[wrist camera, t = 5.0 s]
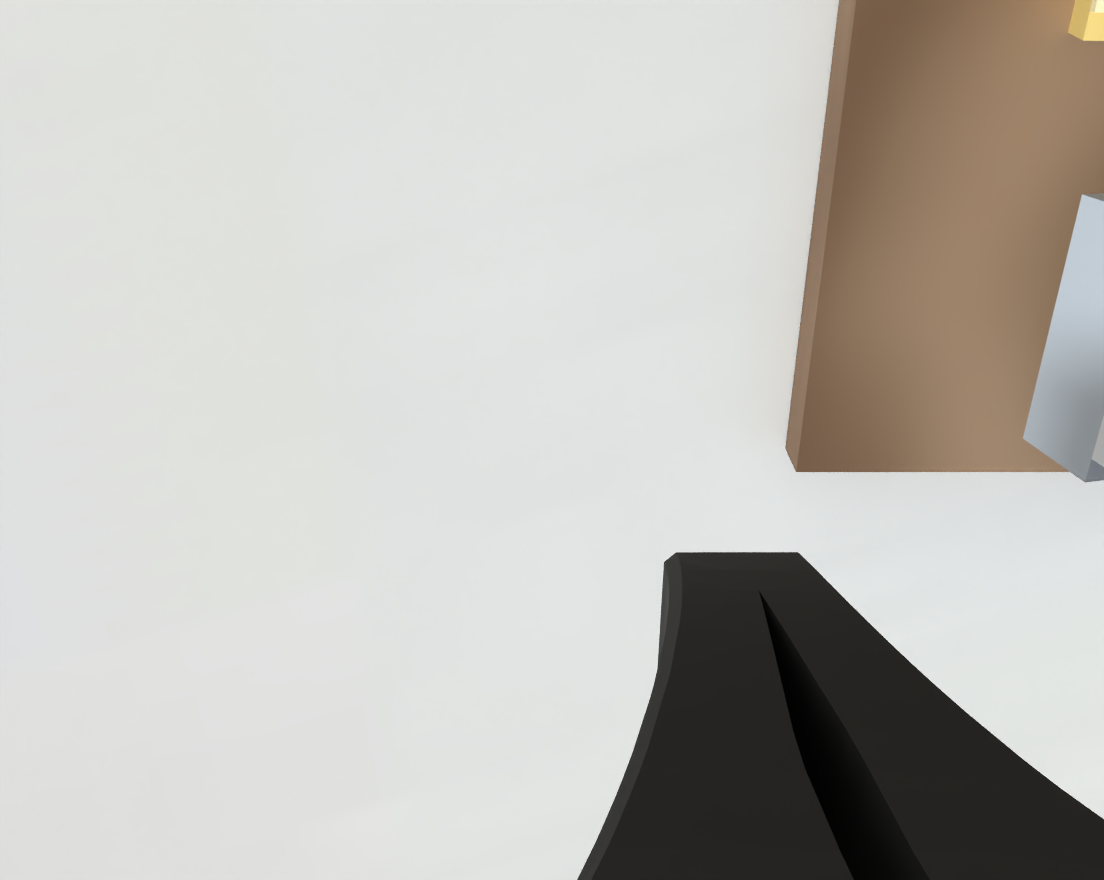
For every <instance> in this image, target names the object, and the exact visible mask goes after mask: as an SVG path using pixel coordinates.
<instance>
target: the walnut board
mask: <svg viewBox="0 0 1104 880" xmlns="http://www.w3.org/2000/svg"><path fill="white" fill-rule="evenodd" d="M1074 4H1075V0H839V7H838V15H837V24H836V32H835V40H834V49H833V57H832V65H831V74H830V82H829V90H828V99H827V107H826V115H825V123H824V132H823V140H822V148H821V157H820V165H819V173H818V182H817V190H816V198H815V207H814V215H813V223H812V232H811V240H810V248H809V257H808V265H807V273H806V281H805V290H804V298H803V306H802V315H801V323H800V331H799V340H798V348H797V356H796V365H795V373H794V381H793V390H792V398H791V406H790V415H789V423H788V431H787V439H786V448H785V449H786V451H787V453H788V455H789V457H790V460H791V462H792V464H793V466H794V468H795V470H796V472H1070V471H1068V470H1067V469H1065V468H1064V467H1063V466H1061V465H1060V464H1058V463H1057V462H1055V461H1054V460H1053V459H1051V458H1050V457H1048V456H1047V455H1046V454H1044V453H1043V452H1041V451H1040V450H1038V449H1037V448H1036V447H1034V446H1033V445H1031V444H1030V443H1028V442H1027V441H1026V440H1024V439H1023V436H1024V432H1025V427H1026V423H1027V419H1028V415H1029V411H1030V407H1031V403H1032V399H1033V394H1034V390H1035V386H1036V382H1037V378H1038V374H1039V370H1040V366H1041V361H1042V357H1043V353H1044V349H1045V345H1046V341H1047V337H1048V333H1049V329H1050V324H1051V320H1052V316H1053V312H1054V308H1055V304H1056V300H1057V296H1058V291H1059V287H1060V283H1061V279H1062V275H1063V271H1064V267H1065V263H1066V258H1067V254H1068V250H1069V246H1070V242H1071V238H1072V234H1073V230H1074V225H1075V221H1076V217H1077V213H1078V209H1079V205H1080V201H1081V197H1082V194H1097V193H1104V41H1083V40H1081V39H1079V38H1077V37H1075V36H1073V35H1072V34H1070V33H1068V31H1069V26H1070V22H1071V17H1072V13H1073V8H1074Z"/></svg>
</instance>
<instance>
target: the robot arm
mask: <svg viewBox="0 0 1104 880" xmlns="http://www.w3.org/2000/svg"><path fill="white" fill-rule="evenodd" d="M577 880H1104V819H1102V818H1101V817H1100V816H1098V815H1097V814H1095V813H1094V812H1093V811H1091V810H1090V809H1089V808H1087V807H1086V806H1084V805H1083V804H1082V803H1080V802H1079V801H1077V800H1076V799H1075V798H1073V797H1072V796H1070V795H1069V794H1068V793H1066V792H1065V791H1063V790H1062V789H1061V788H1059V787H1058V786H1057V785H1055V784H1054V783H1053V782H1051V781H1050V780H1049V779H1048V778H1046V777H1045V776H1044V775H1042V774H1041V773H1040V772H1038V771H1037V770H1036V769H1035V768H1033V767H1032V766H1031V765H1029V764H1028V763H1027V762H1026V761H1024V760H1023V759H1022V758H1021V757H1019V756H1018V755H1017V754H1016V753H1014V752H1013V751H1012V750H1011V749H1010V748H1008V747H1007V746H1006V745H1005V744H1004V743H1002V742H1001V741H1000V740H999V739H998V738H996V737H995V736H994V735H993V734H991V733H990V732H989V731H988V730H987V729H985V728H984V727H983V726H982V725H981V724H979V723H978V722H977V721H976V720H975V719H973V718H972V717H971V716H970V715H969V714H967V713H966V712H965V711H964V710H963V709H962V708H960V707H959V706H958V705H957V704H956V703H955V702H954V701H952V700H951V699H950V698H949V697H948V696H947V695H946V694H944V693H943V692H942V691H941V690H940V689H939V688H938V687H937V686H935V685H934V684H933V683H932V682H931V681H930V680H929V679H928V678H927V677H925V676H924V675H923V674H922V673H921V672H920V671H919V670H918V669H917V668H916V667H915V666H914V665H912V664H911V663H910V662H909V661H908V660H907V659H906V658H905V657H904V656H903V655H902V654H901V653H900V652H899V651H897V650H896V649H895V648H894V647H893V646H892V645H891V644H890V643H889V642H888V641H887V640H886V639H885V638H884V637H883V636H882V635H881V634H880V633H879V632H878V631H877V630H876V629H875V628H874V627H873V626H872V625H871V624H870V623H868V622H867V621H866V620H865V619H864V618H863V617H862V616H861V615H860V614H859V613H858V612H857V611H856V610H855V609H854V608H853V607H852V606H851V605H850V604H849V603H848V602H847V601H846V600H845V599H844V598H843V597H842V596H841V595H840V594H839V593H838V592H837V591H836V590H835V589H834V588H833V587H832V586H831V585H830V584H829V583H828V582H827V581H826V580H825V579H824V578H823V576H822V575H821V574H820V573H819V572H818V571H817V570H816V569H815V568H814V567H813V566H812V565H811V564H810V563H809V562H807V561H806V560H805V559H804V558H803V557H802V556H801V555H800V554H799V553H798V552H699V553H675V554H674V555H672V556H671V557H670V558H669V559H668V560H666V561H665V562H664V572H663V589H662V605H661V622H660V638H659V655H658V669H657V674H656V678H655V683H654V686H653V690H652V694H651V697H650V700H649V703H648V707H647V710H646V713H645V716H644V719H643V722H642V725H641V728H640V731H639V735H638V738H637V741H636V744H635V747H634V750H633V753H632V756H631V758H630V761H629V764H628V766H627V769H626V772H625V774H624V777H623V780H622V782H621V785H620V787H619V790H618V792H617V795H616V797H615V799H614V802H613V804H612V806H611V809H610V811H609V813H608V816H607V818H606V820H605V823H604V825H603V827H602V830H601V832H600V834H599V836H598V838H597V841H596V843H595V845H594V847H593V849H592V851H591V853H590V855H589V857H588V859H587V861H586V863H585V865H584V867H583V869H582V871H581V873H580V875H579V877H578V879H577Z"/></svg>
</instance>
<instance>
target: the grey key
mask: <svg viewBox="0 0 1104 880" xmlns="http://www.w3.org/2000/svg"><path fill="white" fill-rule="evenodd" d="M1023 439H1024V440H1026V441H1027V442H1028V443H1030V444H1031V445H1033V446H1034V447H1036V448H1037V449H1038V450H1040V451H1041V452H1043V453H1044V454H1046V455H1047V456H1048V457H1050V458H1051V459H1053V460H1054V461H1055V462H1057V463H1058V464H1060V465H1061V466H1063V467H1064V468H1065V469H1067V470H1068V471H1070V472H1071V473H1073V474H1074V475H1075V476H1077V477H1078V478H1080V479H1081V480H1082V481H1084V482H1091V481H1100V480H1104V193H1097V194H1082V197H1081V201H1080V205H1079V209H1078V213H1077V217H1076V221H1075V225H1074V230H1073V234H1072V238H1071V242H1070V246H1069V250H1068V254H1067V258H1066V263H1065V267H1064V271H1063V275H1062V279H1061V283H1060V287H1059V291H1058V296H1057V300H1056V304H1055V308H1054V312H1053V316H1052V320H1051V324H1050V329H1049V333H1048V337H1047V341H1046V345H1045V349H1044V353H1043V357H1042V361H1041V366H1040V370H1039V374H1038V378H1037V382H1036V386H1035V390H1034V394H1033V399H1032V403H1031V407H1030V411H1029V415H1028V419H1027V423H1026V427H1025V432H1024V436H1023Z"/></svg>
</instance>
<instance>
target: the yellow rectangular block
mask: <svg viewBox="0 0 1104 880" xmlns="http://www.w3.org/2000/svg"><path fill="white" fill-rule="evenodd" d="M1068 33H1070V34H1072V35H1073V36H1075V37H1077V38H1079V39H1081V40H1083V41H1104V0H1075V4H1074V8H1073V13H1072V17H1071V22H1070V26H1069V31H1068Z"/></svg>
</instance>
